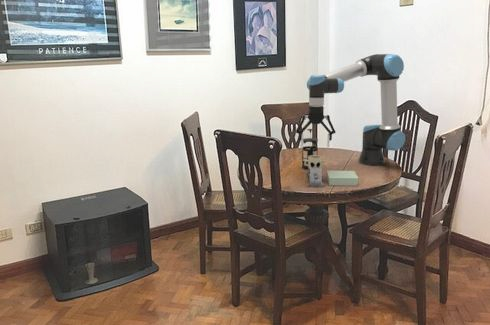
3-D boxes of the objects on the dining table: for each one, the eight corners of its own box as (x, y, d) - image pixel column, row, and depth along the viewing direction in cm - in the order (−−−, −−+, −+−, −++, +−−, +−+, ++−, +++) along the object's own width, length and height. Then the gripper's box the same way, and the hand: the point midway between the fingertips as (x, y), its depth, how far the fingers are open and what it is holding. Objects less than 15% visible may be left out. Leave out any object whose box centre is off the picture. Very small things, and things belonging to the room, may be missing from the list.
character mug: (304, 182, 237) (304, 158, 234) (303, 178, 244) (304, 155, 241) (325, 182, 236) (326, 158, 233) (324, 178, 243) (324, 155, 240)
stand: (353, 178, 243) (354, 170, 242) (358, 185, 229) (358, 178, 228) (326, 177, 244) (326, 170, 243) (328, 185, 230) (329, 177, 229)
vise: (320, 174, 251) (320, 158, 249) (324, 187, 227) (324, 170, 225) (305, 174, 251) (306, 158, 249) (308, 187, 228) (308, 170, 225)
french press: (316, 170, 260) (317, 130, 255) (300, 169, 263) (300, 130, 257) (319, 165, 271) (320, 127, 266) (303, 164, 274) (304, 127, 268)
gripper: (340, 105, 233) (338, 145, 238) (291, 104, 236) (290, 144, 240) (341, 106, 226) (340, 148, 231) (291, 106, 228) (291, 147, 233)
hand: (315, 146), depth 236 cm, fingers open, 13 cm apart
